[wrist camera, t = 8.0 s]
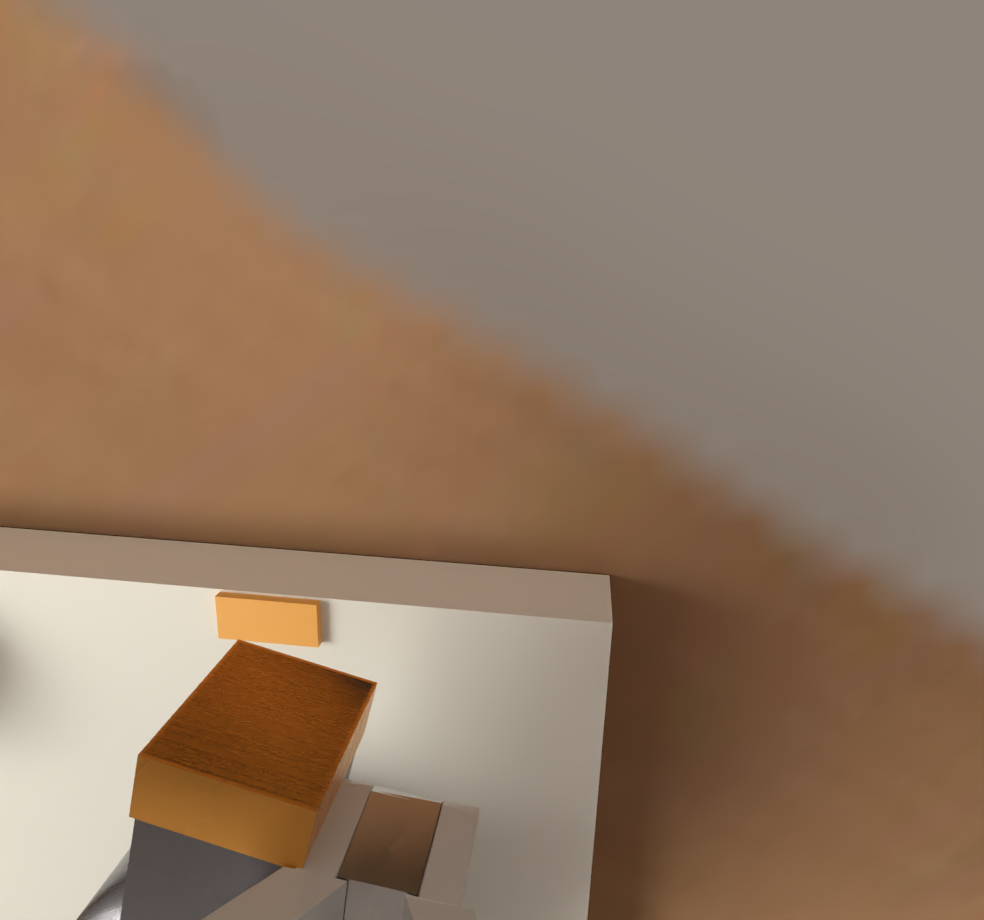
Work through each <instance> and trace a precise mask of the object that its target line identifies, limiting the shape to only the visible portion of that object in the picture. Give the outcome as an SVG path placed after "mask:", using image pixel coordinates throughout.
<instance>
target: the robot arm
mask: <svg viewBox="0 0 984 920" xmlns="http://www.w3.org/2000/svg"><path fill="white" fill-rule="evenodd" d="M478 817H479V808H478V807H474V806H469V805H464V804H459V803H454V802H449V801H444V803H443V801H442V800H437V799H432V798H427V797H423V796H418V795H414V794H410V793H406V792H402V791H398V790H394V789H390V788H386V787H381V786H377V785H375V786H373V785H370V784H366V783H362V782H358V781H354V780H350V779H346V778H344V779H343V781H342V783H341V785H340V787H339V789H338V791H337V794H336V796H335V798H334V800H333V802H332V805H331V807H330V809H329V811H328V814H327V816H326V818H325V820H324V822H323V825H322V827H321V829H320V831H319V833H318V836H317V838H316V840H315V842H314V844H313V847H312V849H311V851H310V853H309V855H308V858H307V860H306V862H305V864H304V866H303V869H301V868H295V869H293V868H289V867H284V866H283V867H282V868H280V869H279V870H277V871H276V872H274V873H272V874H271V875H269V876H268V877H266V878H265V879H263V880H262V881H260V882H259V883H257V884H256V885H254V886H252V887H251V888H249V889H248V890H246V891H245V892H243V893H242V894H240V895H239V896H237V897H235V898H234V899H232V900H231V901H229V902H228V903H226V904H225V905H223V906H222V907H220V908H219V909H217V910H215V911H214V912H212V913H211V914H209V915H208V916H206V917H205V918H203V919H202V920H477V919H476V917H475V915H474V913H473V911H472V910H471V909H467V908H463V907H462V906H463V900H464V895H465V889H466V884H467V878H468V872H469V867H470V861H471V856H472V850H473V845H474V839H475V834H476V828H477V822H478Z"/></svg>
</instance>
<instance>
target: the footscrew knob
mask: <svg viewBox="0 0 984 920" xmlns="http://www.w3.org/2000/svg"><path fill="white" fill-rule="evenodd" d="M376 686H377V682H373V681H370V680H367V679H364V678H361V677H357V676H354V675H351V674H348V673H345V672H341V671H338V670H335V669H332V668H329V667H326V666H322V665H319V664H316V663H313V662H310V661H306V660H303V659H300V658H297V657H294V656H290V655H287V654H284V653H281V652H278V651H274V650H271V649H268V648H265V647H262V646H258V645H255V644H252V643H249V642H246V641H243V640H239V639H238V640H237V641H236V643H235V644H234V645H233V646H232V647H231V648H230V650H229V651H228V652H227V653H226V654H225V655H224V656H223V658H222V659H221V660H220V661H219V662H218V663H217V664H216V666H215V667H214V668H213V669H212V670H211V671H210V673H209V674H208V675H207V676H206V677H205V678H204V679H203V681H202V682H201V683H200V684H199V685H198V686H197V687H196V689H195V690H194V691H193V692H192V693H191V694H190V696H189V697H188V698H187V699H186V700H185V701H184V702H183V704H182V705H181V706H180V707H179V708H178V709H177V710H176V712H175V713H174V714H173V715H172V716H171V717H170V719H169V720H168V721H167V722H166V723H165V724H164V725H163V727H162V728H161V729H160V730H159V731H158V732H157V733H156V735H155V736H154V737H153V738H152V739H151V740H150V742H149V743H148V744H147V745H146V746H145V747H144V748H143V750H142V751H141V752H140V753H139V754H138V757H137V764H136V771H135V777H134V784H133V791H132V798H131V805H130V812H129V817H131V818H134V819H135V821H134V828H133V835H132V841H131V847H130V849H129V850H128V851H127V853H126V854H125V855H124V857H123V858H122V859H121V861H120V862H119V863H118V865H117V866H116V867H115V869H114V870H113V871H112V873H111V874H110V875H109V877H108V878H107V879H106V881H105V882H104V883H103V885H102V886H101V887H100V889H99V890H98V891H97V893H96V894H95V895H94V897H93V898H92V899H91V901H90V902H89V903H88V905H87V906H86V907H85V909H84V910H83V911H82V913H81V914H80V915H79V917H78V918H77V919H76V920H202V919H203V918H205V917H206V916H208V915H209V914H211V913H212V912H214V911H215V910H217V909H219V908H220V907H222V906H223V905H225V904H226V903H228V902H229V901H231V900H232V899H234V898H235V897H237V896H239V895H240V894H242V893H243V892H245V891H246V890H248V889H249V888H251V887H252V886H254V885H256V884H257V883H259V882H260V881H262V880H263V879H265V878H266V877H268V876H269V875H271V874H272V873H274V872H276V871H277V870H279V869H280V868H282V867H283V866H284V867H289V868H293V869H295V868H301V869H303V866H304V864H305V862H306V860H307V858H308V855H309V853H310V851H311V849H312V847H313V844H314V842H315V840H316V838H317V836H318V833H319V831H320V829H321V827H322V825H323V822H324V820H325V818H326V816H327V814H328V811H329V809H330V807H331V805H332V802H333V800H334V798H335V796H336V794H337V791H338V789H339V787H340V785H341V783H342V781H343V779H344V778H346V779H349V775H350V771H351V767H352V763H353V760H354V756H355V753H356V750H357V748H358V746H359V744H360V742H361V739H362V737H363V735H364V732H365V728H366V725H367V721H368V717H369V713H370V709H371V705H372V702H373V698H374V694H375V690H376Z"/></svg>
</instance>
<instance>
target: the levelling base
mask: <svg viewBox="0 0 984 920" xmlns="http://www.w3.org/2000/svg"><path fill="white" fill-rule="evenodd" d="M612 626H613V620H612V605H611V590H610V576H609V575H599V574H587V573H574V572H561V571H549V570H536V569H524V568H511V567H498V566H486V565H473V564H461V563H448V562H435V561H423V560H410V559H397V558H385V557H372V556H360V555H347V554H334V553H322V552H309V551H297V550H284V549H271V548H259V547H246V546H234V545H221V544H208V543H196V542H183V541H171V540H158V539H145V538H133V537H120V536H108V535H95V534H82V533H70V532H57V531H45V530H32V529H19V528H7V527H0V920H76V919H77V918H78V917H79V915H80V914H81V913H82V911H83V910H84V909H85V907H86V906H87V905H88V903H89V902H90V901H91V899H92V898H93V897H94V895H95V894H96V893H97V891H98V890H99V889H100V887H101V886H102V885H103V883H104V882H105V881H106V879H107V878H108V877H109V875H110V874H111V873H112V871H113V870H114V869H115V867H116V866H117V865H118V863H119V862H120V861H121V859H122V858H123V857H124V855H125V854H126V853H127V851H128V850H129V849H130V847H131V841H132V835H133V828H134V821H135V819H134V818H131V817H129V812H130V805H131V798H132V791H133V784H134V777H135V771H136V764H137V757H138V754H139V753H140V752H141V751H142V750H143V748H144V747H145V746H146V745H147V744H148V743H149V742H150V740H151V739H152V738H153V737H154V736H155V735H156V733H157V732H158V731H159V730H160V729H161V728H162V727H163V725H164V724H165V723H166V722H167V721H168V720H169V719H170V717H171V716H172V715H173V714H174V713H175V712H176V710H177V709H178V708H179V707H180V706H181V705H182V704H183V702H184V701H185V700H186V699H187V698H188V697H189V696H190V694H191V693H192V692H193V691H194V690H195V689H196V687H197V686H198V685H199V684H200V683H201V682H202V681H203V679H204V678H205V677H206V676H207V675H208V674H209V673H210V671H211V670H212V669H213V668H214V667H215V666H216V664H217V663H218V662H219V661H220V660H221V659H222V658H223V656H224V655H225V654H226V653H227V652H228V651H229V650H230V648H231V647H232V646H233V645H234V644H235V643H236V641H237V640H238V639H239V640H243V641H246V642H249V643H252V644H255V645H258V646H262V647H265V648H268V649H271V650H274V651H278V652H281V653H284V654H287V655H290V656H294V657H297V658H300V659H303V660H306V661H310V662H313V663H316V664H319V665H322V666H326V667H329V668H332V669H335V670H338V671H341V672H345V673H348V674H351V675H354V676H357V677H361V678H364V679H367V680H370V681H373V682H377V686H376V690H375V694H374V698H373V702H372V705H371V709H370V713H369V717H368V721H367V725H366V728H365V732H364V735H363V737H362V739H361V742H360V744H359V746H358V748H357V750H356V753H355V756H354V760H353V763H352V767H351V771H350V775H349V779H350V780H354V781H358V782H362V783H366V784H370V785H373V786H375V785H377V786H381V787H386V788H390V789H394V790H398V791H402V792H406V793H410V794H414V795H418V796H423V797H427V798H432V799H437V800H442V801H443V803H444V801H449V802H454V803H459V804H464V805H469V806H474V807H478V808H479V817H478V822H477V828H476V834H475V839H474V845H473V850H472V856H471V861H470V867H469V872H468V878H467V884H466V889H465V895H464V900H463V906H462V907H463V908H467V909H471V910H472V911H473V913H474V915H475V917H476V919H477V920H587V916H588V905H589V893H590V882H591V870H592V858H593V847H594V835H595V823H596V812H597V800H598V789H599V777H600V765H601V754H602V742H603V730H604V719H605V707H606V696H607V684H608V672H609V661H610V649H611V638H612Z"/></svg>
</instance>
